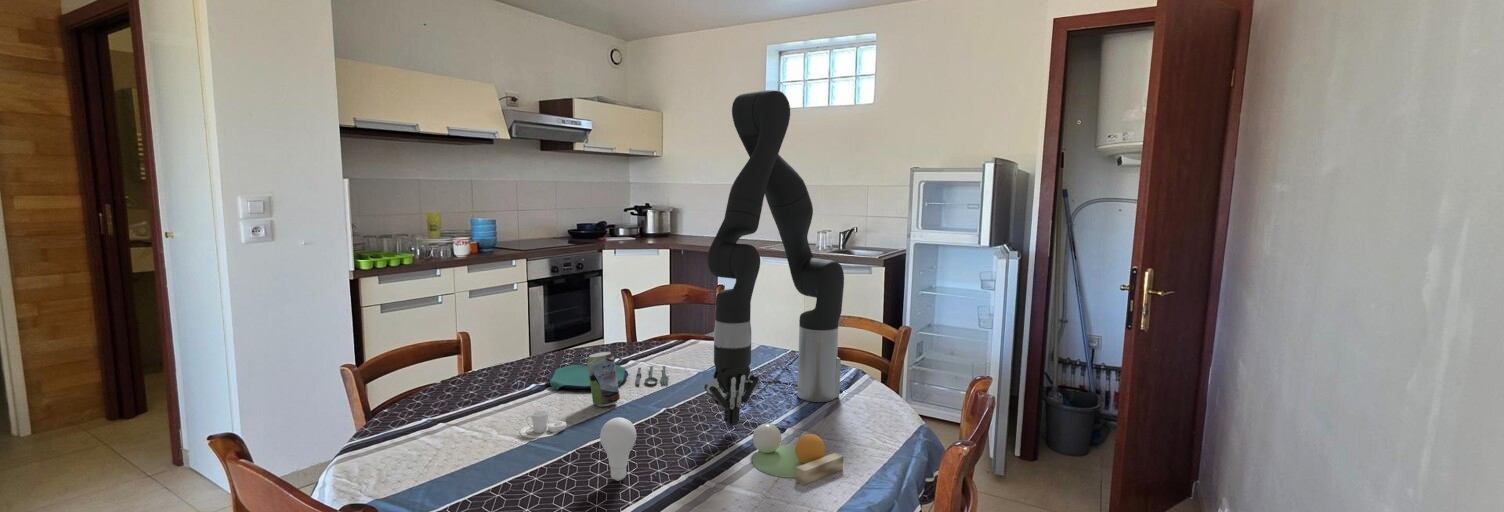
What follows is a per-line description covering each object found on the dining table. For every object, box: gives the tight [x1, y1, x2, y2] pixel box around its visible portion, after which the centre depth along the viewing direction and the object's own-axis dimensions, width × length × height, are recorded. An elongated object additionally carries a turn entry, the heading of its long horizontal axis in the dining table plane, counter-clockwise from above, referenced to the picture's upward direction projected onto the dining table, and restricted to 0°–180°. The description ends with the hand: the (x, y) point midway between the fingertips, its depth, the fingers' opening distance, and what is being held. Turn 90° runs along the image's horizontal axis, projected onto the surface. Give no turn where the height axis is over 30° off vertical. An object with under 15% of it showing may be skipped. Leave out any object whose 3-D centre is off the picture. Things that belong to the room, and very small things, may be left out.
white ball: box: [752, 422, 782, 453], centre depth 130 cm, size 6×6×6 cm
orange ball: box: [794, 433, 826, 464], centre depth 125 cm, size 6×6×6 cm
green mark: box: [752, 444, 826, 479], centre depth 126 cm, size 14×14×1 cm
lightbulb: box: [599, 416, 637, 482], centre depth 117 cm, size 6×6×11 cm
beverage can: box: [586, 351, 620, 408], centre depth 154 cm, size 6×7×12 cm
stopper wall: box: [795, 452, 844, 486], centre depth 120 cm, size 10×2×2 cm, turn 131°
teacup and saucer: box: [519, 410, 567, 439], centre depth 138 cm, size 9×8×4 cm
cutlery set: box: [547, 363, 670, 391], centre depth 173 cm, size 20×30×2 cm, turn 98°
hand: (731, 424), depth 139 cm, fingers closed
